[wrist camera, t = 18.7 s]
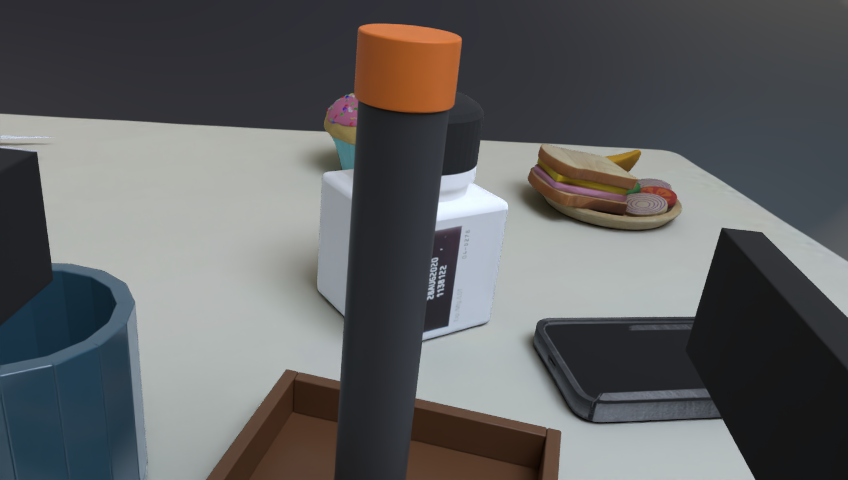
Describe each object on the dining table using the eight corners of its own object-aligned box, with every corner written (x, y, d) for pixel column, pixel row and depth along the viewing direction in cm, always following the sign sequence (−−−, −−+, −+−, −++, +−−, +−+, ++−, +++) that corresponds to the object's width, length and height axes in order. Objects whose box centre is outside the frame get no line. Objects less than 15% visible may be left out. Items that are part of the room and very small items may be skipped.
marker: (313, 604, 23) (344, 30, 15) (338, 547, 25) (375, 19, 17) (385, 624, 22) (451, 45, 15) (403, 564, 24) (470, 32, 17)
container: (492, 324, 41) (528, 106, 36) (379, 355, 37) (400, 114, 32) (419, 268, 47) (441, 73, 41) (314, 290, 43) (323, 76, 37)
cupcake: (312, 157, 66) (317, 25, 61) (396, 155, 69) (407, 30, 64) (337, 189, 59) (345, 43, 54) (430, 185, 62) (445, 47, 57)
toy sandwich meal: (702, 240, 57) (718, 184, 55) (539, 227, 56) (549, 171, 54) (650, 186, 68) (661, 139, 66) (513, 175, 67) (521, 127, 65)
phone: (855, 394, 36) (584, 403, 33) (847, 412, 36) (579, 423, 33) (761, 315, 43) (530, 316, 40) (755, 331, 43) (527, 333, 40)
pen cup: (-126, 546, 24) (-187, 345, 20) (29, 416, 30) (2, 248, 27) (63, 602, 22) (31, 399, 19) (182, 455, 29) (174, 284, 26)
